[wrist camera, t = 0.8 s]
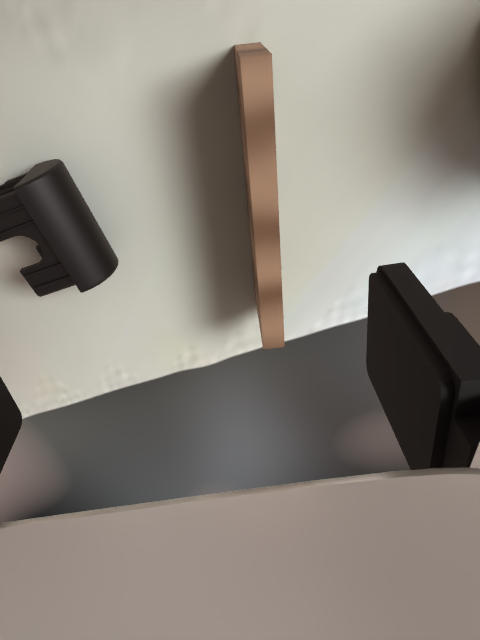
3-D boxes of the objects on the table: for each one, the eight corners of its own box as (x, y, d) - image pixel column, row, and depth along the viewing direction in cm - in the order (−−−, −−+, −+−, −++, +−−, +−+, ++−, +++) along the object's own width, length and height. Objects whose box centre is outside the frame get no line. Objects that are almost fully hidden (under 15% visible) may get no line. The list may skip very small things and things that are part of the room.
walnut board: (234, 45, 35) (240, 57, 29) (260, 42, 35) (271, 53, 29) (256, 302, 49) (263, 349, 43) (274, 300, 49) (284, 346, 43)
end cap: (125, 247, 45) (113, 283, 39) (61, 270, 46) (41, 307, 41) (71, 148, 39) (48, 174, 34) (-1, 177, 40) (-34, 206, 35)
